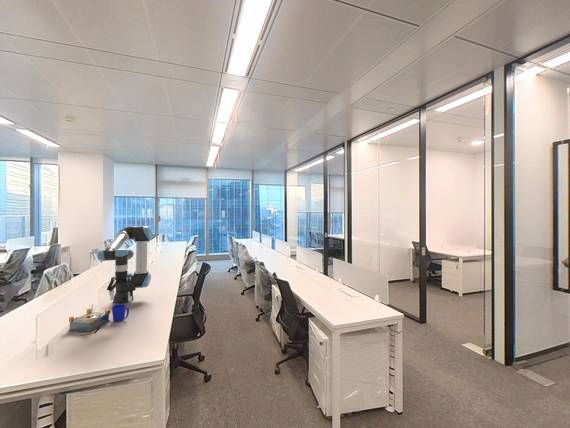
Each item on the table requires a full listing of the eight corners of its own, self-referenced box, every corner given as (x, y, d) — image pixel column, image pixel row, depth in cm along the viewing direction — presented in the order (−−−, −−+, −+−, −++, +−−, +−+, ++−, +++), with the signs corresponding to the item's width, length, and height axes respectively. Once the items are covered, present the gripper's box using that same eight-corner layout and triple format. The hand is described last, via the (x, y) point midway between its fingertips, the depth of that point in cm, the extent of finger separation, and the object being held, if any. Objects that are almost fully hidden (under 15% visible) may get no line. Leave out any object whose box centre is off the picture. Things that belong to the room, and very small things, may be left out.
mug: (123, 323, 179) (123, 309, 179) (109, 321, 181) (109, 307, 181) (132, 318, 187) (132, 305, 187) (118, 317, 189) (118, 303, 189)
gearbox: (87, 320, 184) (87, 308, 183) (110, 321, 182) (110, 309, 182) (64, 331, 166) (64, 318, 166) (90, 332, 165) (90, 319, 165)
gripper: (100, 271, 181) (100, 301, 181) (134, 272, 179) (134, 302, 179) (109, 268, 188) (108, 297, 188) (141, 269, 186) (141, 299, 186)
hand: (121, 300), depth 183 cm, fingers open, 13 cm apart
